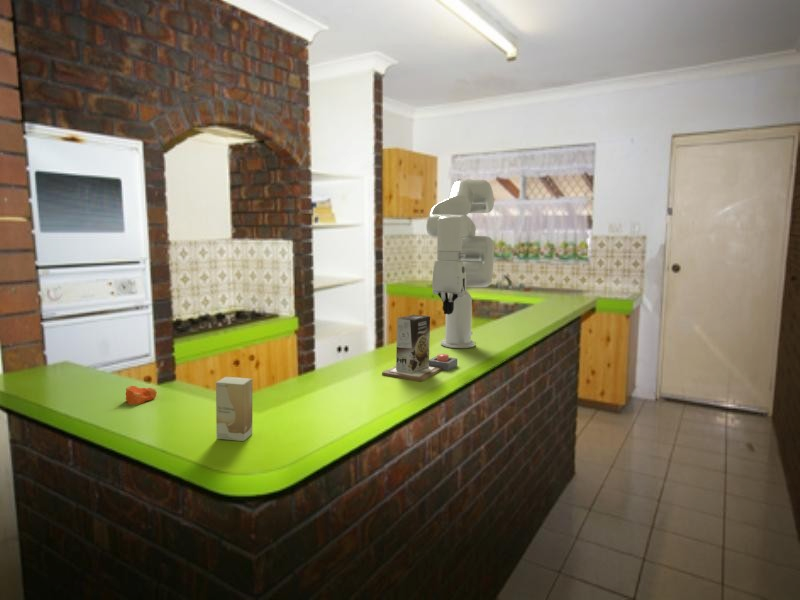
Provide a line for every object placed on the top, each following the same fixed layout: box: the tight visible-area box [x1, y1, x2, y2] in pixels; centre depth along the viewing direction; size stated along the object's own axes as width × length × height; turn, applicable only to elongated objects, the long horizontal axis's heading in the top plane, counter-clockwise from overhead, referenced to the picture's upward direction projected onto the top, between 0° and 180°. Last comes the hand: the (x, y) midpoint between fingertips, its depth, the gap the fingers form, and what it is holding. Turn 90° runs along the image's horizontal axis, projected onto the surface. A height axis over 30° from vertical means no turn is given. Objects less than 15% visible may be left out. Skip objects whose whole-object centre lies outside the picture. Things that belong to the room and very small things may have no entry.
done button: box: [436, 353, 450, 362], centre depth 166 cm, size 4×4×3 cm
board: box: [381, 365, 443, 382], centre depth 159 cm, size 14×13×1 cm
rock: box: [125, 385, 158, 406], centre depth 131 cm, size 12×12×4 cm
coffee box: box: [395, 314, 431, 374], centre depth 158 cm, size 9×6×16 cm
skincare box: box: [215, 376, 253, 442], centre depth 109 cm, size 6×4×12 cm
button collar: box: [429, 355, 458, 372], centre depth 166 cm, size 7×7×2 cm
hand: (448, 313), depth 167 cm, fingers closed
